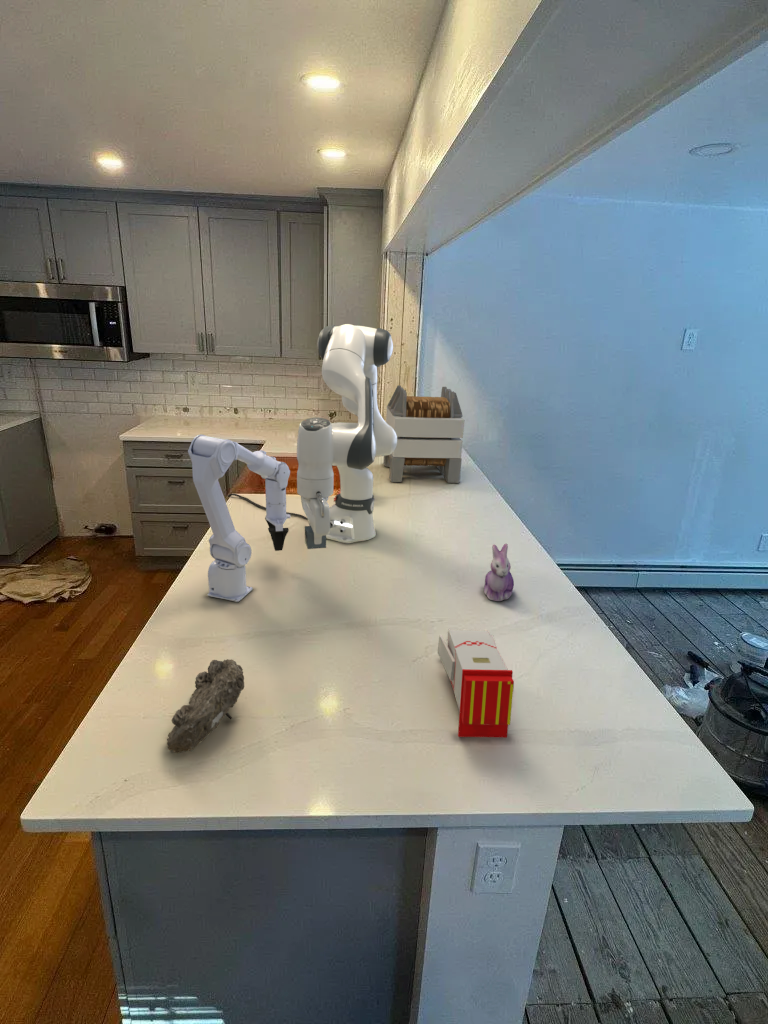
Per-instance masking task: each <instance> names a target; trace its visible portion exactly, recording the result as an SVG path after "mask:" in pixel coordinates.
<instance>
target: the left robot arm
mask: <svg viewBox="0 0 768 1024" xmlns="http://www.w3.org/2000/svg"><path fill="white" fill-rule="evenodd" d="M187 453H188V456H189V459H190V461H191V468H192V470H191V471H192V481H193V484H194V487H195V490H196V492H197V495H198V497H199V500H200V502H201V505H202V508H203V510H204V514H205V516H206V518H207V521H208V523H209V526H210V529H211V531H212V535H210V537H209V538H208V543H209V554H210V556H211V558H212V559H214V560H213V561H212V562H211V563H210V564H209V566H208V570H207V583H208V593H207V596H208V597H211V598H217V599H221V600H226V601H231V602H236V603H238V602H240V601H241V600H243V598H245V597H246V596H247V595H248V594H249V593H250V592H252V591H253V590H254V588H253V587H252V586H247V571H246V565H248V563H249V562H250V560H251V558H252V547H251V545H250V544H248V543H247V541H246V538H245V537H244V536H243V535H241V533H240V532H238V531H237V530H236V528H235V525H234V522H233V519H232V515H231V514H230V510H229V507H228V504H227V502H226V499H225V496H224V493H223V491H222V487H221V485H220V482H219V479H221V478H223V477H224V476H225V474H226V473H227V471H228V469H230V466H231V465H232V463H233V462H234V461H239V462H242V463H244V464H246V466H247V468H248V470H249V471H250V472H253V473H255V474H257V475H259V476H260V477H261V478H262V479H263V480H264V479H265V480H264V481H265V482H264V483H265V485H264V486H265V507H266V509H265V516H264V520H265V522H266V524H267V525H268V527H267V530H268V533H269V535H270V538H271V541H272V545H273V548H274V551H275V552H277V551H278V552H281V551H283V549H284V545H285V540H286V537H287V535H288V533H289V531H290V529H289V527H284V525H285V522H286V521H287V520H288V519H291V515H290V514H286V512H287V487H288V486H289V485H288V484H289V482H288V481H289V478H290V476H291V470H290V468H289V465H287V463H286V462H284V461H279V460H277V458H276V457H275V456H270V455H268V454H267V451H266V450H261V449H260V450H255V451H251V450H249V449H248V448H246V447H244V446H243V445H241V444H239V443H238V442H237V441H233V440H231V439H229V438H225V439H224V438H219V437H212V436H209V435H205V434H198V435H195V436H194V437H193V439H192V440H191V443H190V445H189V447H188V450H187Z"/></svg>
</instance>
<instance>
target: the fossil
mask: <svg viewBox="0 0 768 1024" xmlns="http://www.w3.org/2000/svg"><path fill="white" fill-rule="evenodd" d="M243 670H244V669H243V667H242V665H240V664H237V662H236V661H235V660H234V659H232V658H231V659H227V658H226V659H224V660H223V661H222V660H217V659H212V660H211V661H210V663H209V665H208V666H207V671H201V672H199V673H198V674H197V675H196V676H195V680H194V684H195V685H194V687H195V689H194V690H193V693H192V694H191V697H190V698H189V700H188V704H184V705H182V706H181V707H180V709H177V710H176V711H175V713H174V715H173V716H172V718H171V723H172V724H173V727H172V730H171V731H170V732H168V734H167V738H166V741H167V742H166V745H167V749H168V750H169V751H173V752H174V753H176V754H178V753H182V752H188V751H189V752H192V751H193V750H195V748H196V747H197V746H199V744H200V743H201V742H203V741H204V740H205V739H206V738H207V737H208V736H209V735H210V734H211V733H212V732H214V730H215V729H217V727H218V726H219V724H220V722H221V721H222V720H223V719H224V718H225V716H226V717H227V719H229V720H233V717H232V715H230V714H229V710H230V709H231V708H234V706H235V704H236V703H237V702H238V699H239V697H240V695H241V693H242V691H243V690H245V689H244V688H245V675H244V671H243Z"/></svg>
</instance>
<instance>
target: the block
mask: <svg viewBox="0 0 768 1024" xmlns="http://www.w3.org/2000/svg"><path fill="white" fill-rule="evenodd" d="M313 536H314V532H313V530H312V527H311V526H309V525H304V544H305V546H306V549H307V550H315V549H327V538H326V535H323V536H322V543H321V544H315V543H314V541H313Z"/></svg>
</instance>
